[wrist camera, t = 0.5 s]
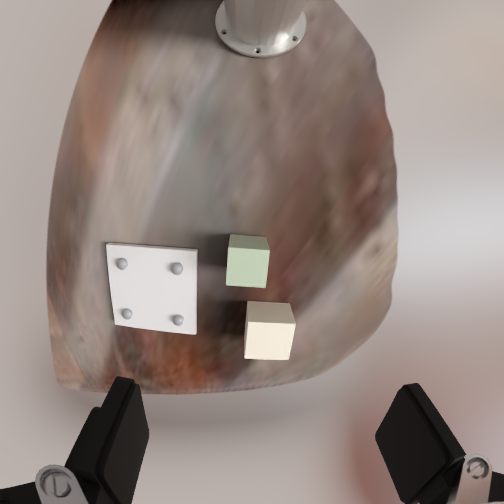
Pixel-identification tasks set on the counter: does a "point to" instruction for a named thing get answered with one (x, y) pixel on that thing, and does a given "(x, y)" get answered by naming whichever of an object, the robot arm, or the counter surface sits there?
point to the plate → (153, 287)
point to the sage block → (247, 261)
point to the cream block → (268, 330)
